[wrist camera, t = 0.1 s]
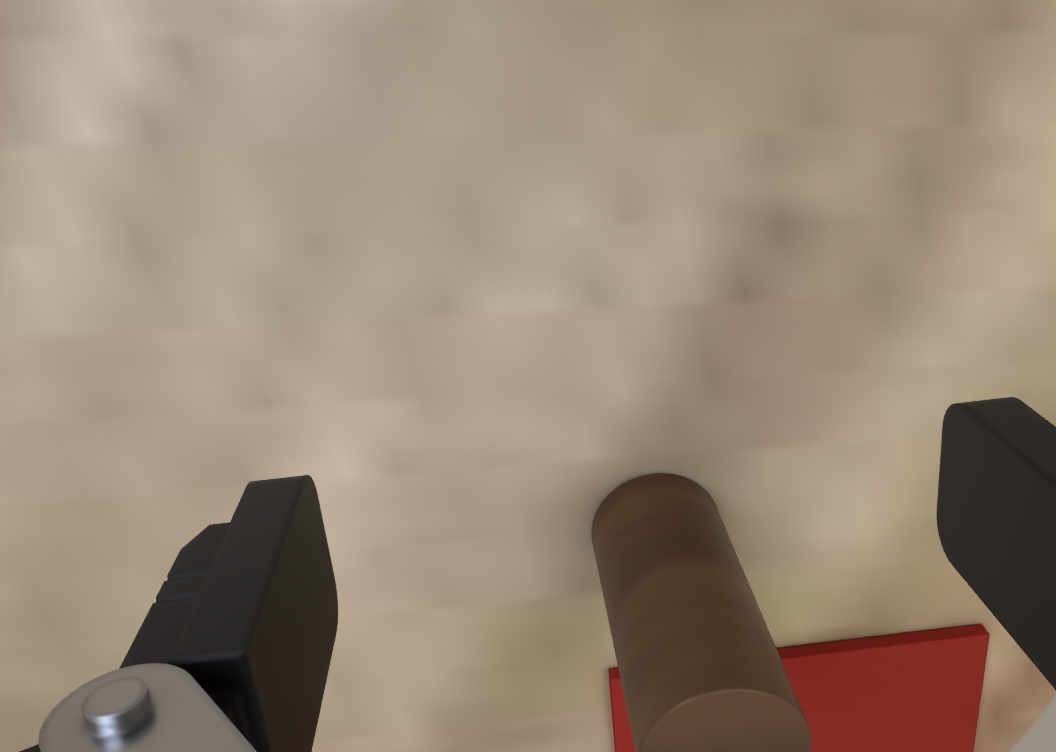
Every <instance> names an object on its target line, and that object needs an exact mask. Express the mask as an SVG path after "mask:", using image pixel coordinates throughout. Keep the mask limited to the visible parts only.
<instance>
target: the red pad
mask: <svg viewBox="0 0 1056 752" xmlns="http://www.w3.org/2000/svg"><path fill="white" fill-rule="evenodd" d="M988 642H989V633H988V632H987V630H986V629H985V628H984V626H983V625H982V624H980V625H972V626H963V627H955V628H947V629H938V630H930V631H922V632H913V633H905V634H897V635H888V636H880V637H872V638H863V639H855V640H847V641H838V642H830V643H821V644H813V645H805V646H796V647H788V648H780V649H777V651H778V654H779V656H780V658H781V661H782V663H783V665H784V668H785V670H786V672H787V675H788V677H789V680H790V682H791V684H792V687H793V689H794V691H795V694H796V696H797V698H798V701H799V703H800V705H801V708H802V710H803V712H804V715H805V717H806V720H807V722H808V724H809V727H810V731H811V739H812V744H811V752H973V750H974V743H975V736H976V728H977V721H978V714H979V707H980V700H981V692H982V685H983V678H984V671H985V663H986V656H987V649H988ZM609 683H610V695H611V707H612V720H613V732H614V744H615V752H636V751H635V746H634V742H633V737H632V732H631V727H630V722H629V717H628V712H627V708H626V703H625V698H624V693H623V688H622V683H621V678H620V673H619V669H618V668H613V669H609Z"/></svg>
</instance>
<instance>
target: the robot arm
mask: <svg viewBox="0 0 1056 752" xmlns="http://www.w3.org/2000/svg"><path fill="white" fill-rule="evenodd" d="M937 526H938V532H939V537H940V541H941V544H942V547H943V550H944V552H945V554H946V556H947V558H948V560H949V561H950V563H951V564H952V565H953V566H954V568H955V569H956V570H957V571H958V572H959V574H960V575H961V576H962V577H963V579H964V580H965V581H966V582H967V583H968V585H969V586H970V587H971V588H972V589H973V591H974V592H975V593H976V594H977V595H978V597H979V598H980V599H981V600H982V601H983V603H984V604H985V605H986V606H987V608H988V609H989V610H990V611H991V612H992V614H993V615H994V616H995V617H996V618H997V620H998V621H999V622H1000V623H1001V624H1002V626H1003V627H1004V628H1005V629H1006V631H1007V632H1008V633H1009V634H1010V635H1011V637H1012V638H1013V639H1014V640H1015V641H1016V643H1017V644H1018V645H1019V646H1020V647H1021V649H1022V650H1023V651H1024V652H1025V653H1026V655H1027V656H1028V657H1029V658H1030V660H1031V661H1032V662H1033V663H1034V664H1035V666H1036V667H1037V668H1038V669H1039V670H1040V672H1041V673H1042V674H1043V675H1044V676H1045V678H1046V679H1047V680H1048V681H1049V683H1050V684H1051V685H1052V686H1053V687H1054V689H1055V690H1056V427H1055V426H1054V425H1052V424H1051V423H1050V422H1048V421H1047V420H1046V419H1045V418H1043V417H1042V416H1041V415H1039V414H1038V413H1037V412H1035V411H1034V410H1033V409H1031V408H1030V407H1029V406H1027V405H1026V404H1025V403H1023V402H1022V401H1021V400H1019V399H1017V398H1014V397H1008V398H999V399H990V400H982V401H973V402H964V403H955V404H952V405H951V406H950V407H949V408H948V409H947V411H946V413H945V416H944V420H943V428H942V443H941V458H940V472H939V487H938V502H937ZM167 577H168V581H164V583H163V585H162V587H161V589H160V591H159V593H158V595H157V597H156V603H153V604H152V606H151V608H150V610H149V612H148V614H147V616H146V618H145V620H144V622H143V624H142V626H141V628H140V630H139V632H138V633H137V635H136V637H135V639H134V641H133V643H132V645H131V647H130V649H129V651H128V653H127V655H126V657H125V659H124V661H123V663H122V664H121V666H120V668H119V669H118V670H115V671H112V672H109V673H106V674H104V675H102V676H99V677H97V678H95V679H93V680H91V681H89V682H88V683H86V684H84V685H82V686H81V687H79V688H78V689H76V690H75V691H73V692H72V693H70V694H69V695H68V696H67V697H65V698H64V699H63V700H62V701H61V702H60V703H59V704H58V705H57V706H56V707H55V708H54V709H53V710H52V711H51V713H50V714H49V715H48V717H47V718H46V719H45V721H44V723H43V725H42V727H41V730H40V733H39V744H38V745H35V746H33V747H31V748H28V749H25V750H23V751H20V752H311V751H312V746H313V742H314V737H315V732H316V727H317V723H318V718H319V713H320V708H321V703H322V699H323V694H324V689H325V684H326V680H327V675H328V670H329V665H330V661H331V656H332V651H333V646H334V642H335V637H336V632H337V624H338V601H337V590H336V583H335V577H334V573H333V568H332V563H331V558H330V553H329V548H328V543H327V538H326V534H325V529H324V524H323V519H322V514H321V509H320V504H319V499H318V495H317V490H316V487H315V484H314V481H313V479H312V478H311V476H309V475H304V476H295V477H286V478H278V479H269V480H260V481H251V482H249V483H248V485H247V486H246V489H245V491H244V493H243V495H242V497H241V500H240V502H239V504H238V506H237V508H236V511H235V513H234V515H233V517H232V520H231V522H230V523H222V524H213V525H209V526H208V527H206V528H205V529H204V530H203V531H202V532H201V533H199V534H198V535H197V536H196V537H195V538H194V539H193V540H191V541H190V542H189V543H188V544H187V545H186V546H184V547H183V548H182V549H181V550H180V552H179V554H178V556H177V558H176V560H175V562H174V564H173V566H172V568H171V570H170V572H169V573H168V575H167Z"/></svg>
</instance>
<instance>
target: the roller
mask: <svg viewBox="0 0 1056 752" xmlns="http://www.w3.org/2000/svg"><path fill="white" fill-rule="evenodd" d="M592 542H593V547H594V552H595V557H596V562H597V566H598V571H599V576H600V581H601V586H602V591H603V596H604V600H605V605H606V610H607V615H608V620H609V625H610V630H611V635H612V639H613V644H614V649H615V654H616V659H617V664H618V669H619V673H620V678H621V683H622V688H623V693H624V698H625V703H626V708H627V712H628V717H629V722H630V727H631V732H632V737H633V742H634V746H635V751H636V752H811V744H812V739H811V731H810V727H809V724H808V722H807V720H806V717H805V715H804V712H803V710H802V708H801V705H800V703H799V701H798V698H797V696H796V694H795V691H794V689H793V687H792V684H791V682H790V680H789V677H788V675H787V672H786V670H785V668H784V665H783V663H782V661H781V658H780V656H779V654H778V651H777V649H776V647H775V644H774V642H773V639H772V637H771V635H770V632H769V630H768V628H767V625H766V623H765V621H764V618H763V616H762V614H761V611H760V609H759V606H758V604H757V602H756V599H755V597H754V595H753V592H752V590H751V588H750V585H749V583H748V581H747V578H746V576H745V573H744V571H743V569H742V566H741V564H740V562H739V559H738V557H737V555H736V552H735V550H734V548H733V545H732V543H731V540H730V538H729V536H728V533H727V531H726V529H725V526H724V524H723V522H722V519H721V517H720V515H719V512H718V510H717V507H716V505H715V503H714V501H713V499H712V498H711V496H710V495H709V494H708V493H707V492H706V491H705V490H704V489H703V488H702V487H701V486H699V485H698V484H696V483H695V482H693V481H691V480H688V479H686V478H683V477H680V476H676V475H671V474H652V475H646V476H642V477H638V478H635V479H633V480H630V481H628V482H626V483H624V484H622V485H621V486H619V487H618V488H616V489H615V490H614V491H613V492H612V493H610V494H609V495H608V496H607V497H606V499H605V500H604V501H603V502H602V504H601V505H600V507H599V508H598V510H597V512H596V515H595V517H594V520H593V524H592Z"/></svg>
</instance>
